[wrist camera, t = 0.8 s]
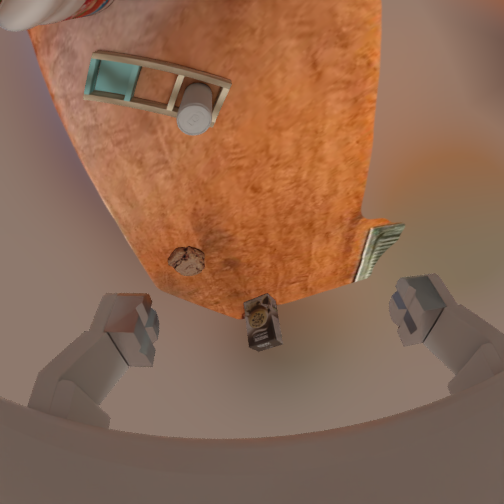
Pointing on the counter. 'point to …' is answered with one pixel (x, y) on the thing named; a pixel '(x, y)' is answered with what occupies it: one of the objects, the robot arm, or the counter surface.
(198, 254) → the cookie
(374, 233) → the counter surface
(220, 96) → the rack
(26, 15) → the fruit juice
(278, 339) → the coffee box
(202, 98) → the beverage can
